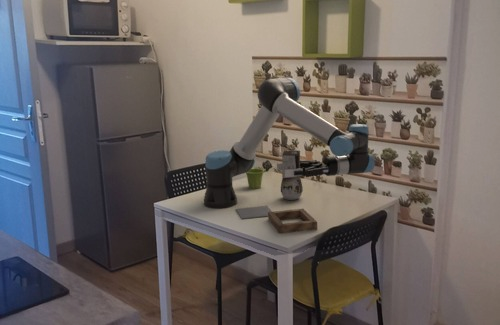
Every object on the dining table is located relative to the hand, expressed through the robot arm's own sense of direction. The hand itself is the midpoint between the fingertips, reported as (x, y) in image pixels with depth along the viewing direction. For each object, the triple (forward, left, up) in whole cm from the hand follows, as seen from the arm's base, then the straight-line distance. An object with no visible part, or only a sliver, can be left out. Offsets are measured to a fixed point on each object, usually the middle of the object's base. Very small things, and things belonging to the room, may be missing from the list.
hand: (280, 170), depth 191 cm
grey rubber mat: (-7, +18, -22) cm, 30 cm away
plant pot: (+2, +57, -23) cm, 61 cm away
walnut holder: (+4, 0, -22) cm, 23 cm away
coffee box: (+4, 0, -10) cm, 11 cm away
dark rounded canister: (+14, +33, -23) cm, 42 cm away
